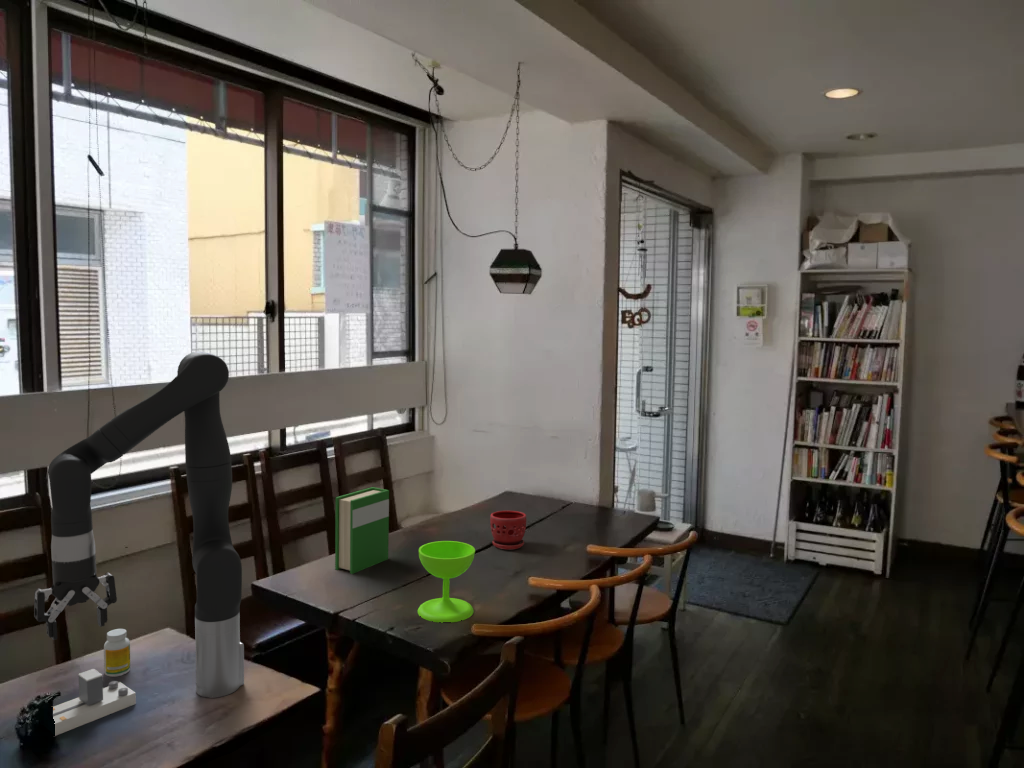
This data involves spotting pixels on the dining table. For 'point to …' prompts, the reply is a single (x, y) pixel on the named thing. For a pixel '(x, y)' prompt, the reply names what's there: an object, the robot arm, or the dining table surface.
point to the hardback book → (361, 529)
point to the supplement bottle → (116, 653)
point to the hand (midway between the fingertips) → (77, 631)
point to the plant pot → (508, 529)
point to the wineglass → (446, 579)
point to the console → (92, 707)
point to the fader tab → (90, 687)
